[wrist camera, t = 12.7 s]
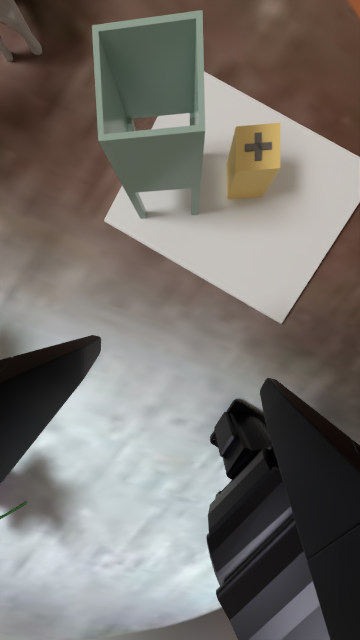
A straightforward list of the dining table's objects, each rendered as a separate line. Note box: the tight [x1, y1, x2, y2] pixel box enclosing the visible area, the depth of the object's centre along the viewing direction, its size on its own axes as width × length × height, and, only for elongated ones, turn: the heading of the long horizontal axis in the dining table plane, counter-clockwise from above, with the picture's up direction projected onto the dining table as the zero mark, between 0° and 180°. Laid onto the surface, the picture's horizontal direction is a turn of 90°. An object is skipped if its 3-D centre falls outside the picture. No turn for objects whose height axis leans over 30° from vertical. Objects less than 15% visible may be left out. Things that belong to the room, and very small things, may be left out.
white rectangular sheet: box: [104, 72, 360, 324], centre depth 20 cm, size 25×20×1 cm
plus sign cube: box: [227, 123, 280, 199], centre depth 18 cm, size 4×4×4 cm
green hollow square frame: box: [92, 10, 205, 219], centre depth 16 cm, size 7×7×10 cm
